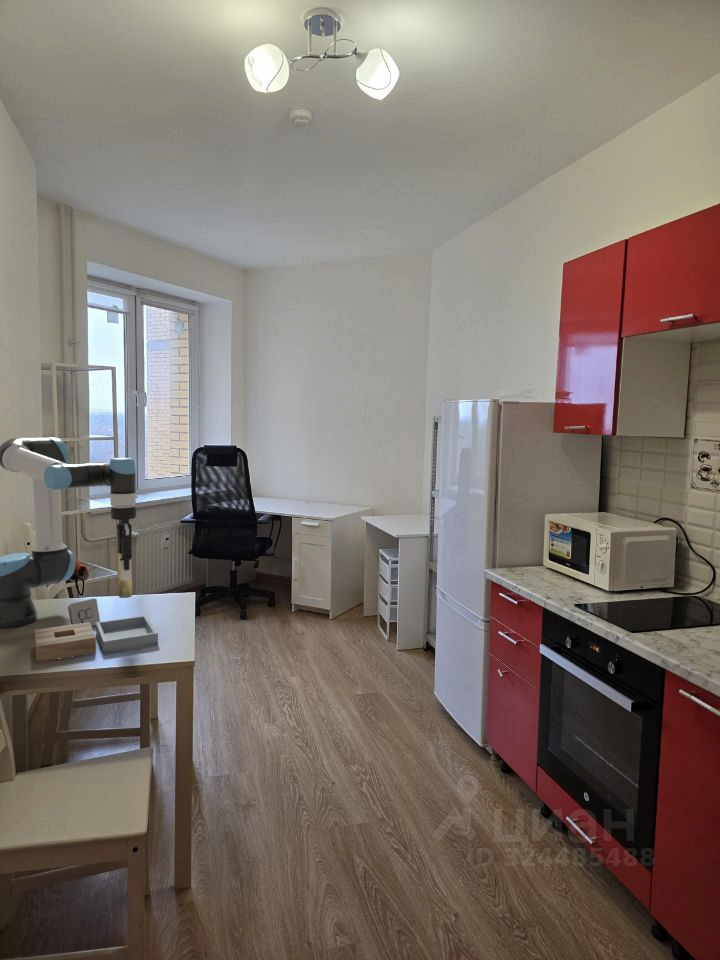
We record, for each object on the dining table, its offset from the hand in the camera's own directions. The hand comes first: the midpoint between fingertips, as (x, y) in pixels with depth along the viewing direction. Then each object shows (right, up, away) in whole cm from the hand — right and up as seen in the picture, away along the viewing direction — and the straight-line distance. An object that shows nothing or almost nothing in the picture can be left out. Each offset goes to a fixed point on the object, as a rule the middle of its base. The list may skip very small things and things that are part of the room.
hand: (125, 577), depth 192 cm
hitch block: (-16, -21, -7) cm, 27 cm away
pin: (0, -6, +1) cm, 6 cm away
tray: (0, -21, +2) cm, 21 cm away
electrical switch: (-20, -19, +14) cm, 31 cm away
